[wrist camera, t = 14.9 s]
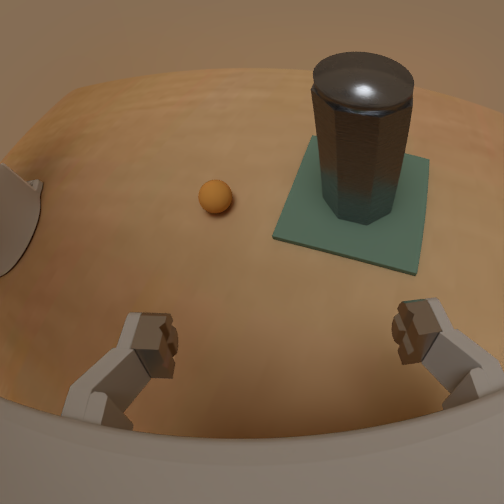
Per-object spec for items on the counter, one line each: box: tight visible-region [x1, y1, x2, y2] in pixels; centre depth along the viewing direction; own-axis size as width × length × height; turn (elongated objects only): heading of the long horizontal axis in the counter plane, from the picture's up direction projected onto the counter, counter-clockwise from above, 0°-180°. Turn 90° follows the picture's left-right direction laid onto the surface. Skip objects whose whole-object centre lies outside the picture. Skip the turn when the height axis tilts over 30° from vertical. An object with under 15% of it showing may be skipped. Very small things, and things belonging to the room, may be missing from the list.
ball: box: [198, 180, 232, 213], centre depth 27 cm, size 3×3×3 cm
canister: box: [311, 52, 414, 226], centre depth 20 cm, size 6×6×12 cm
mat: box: [272, 135, 429, 276], centre depth 26 cm, size 12×12×1 cm
